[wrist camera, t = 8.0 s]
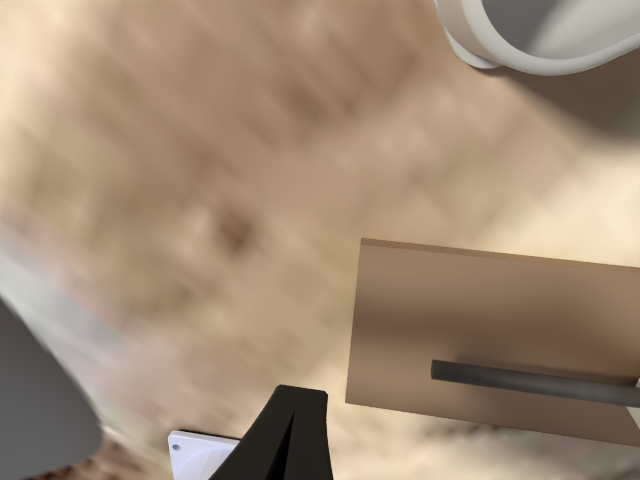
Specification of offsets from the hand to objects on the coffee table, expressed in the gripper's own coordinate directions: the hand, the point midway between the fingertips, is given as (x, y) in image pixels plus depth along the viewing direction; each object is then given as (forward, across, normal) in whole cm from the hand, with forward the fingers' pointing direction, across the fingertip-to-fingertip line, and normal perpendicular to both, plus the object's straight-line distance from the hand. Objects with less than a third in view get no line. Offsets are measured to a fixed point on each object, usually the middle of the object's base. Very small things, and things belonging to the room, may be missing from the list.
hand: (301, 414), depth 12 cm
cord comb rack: (+8, -11, +3) cm, 14 cm away
